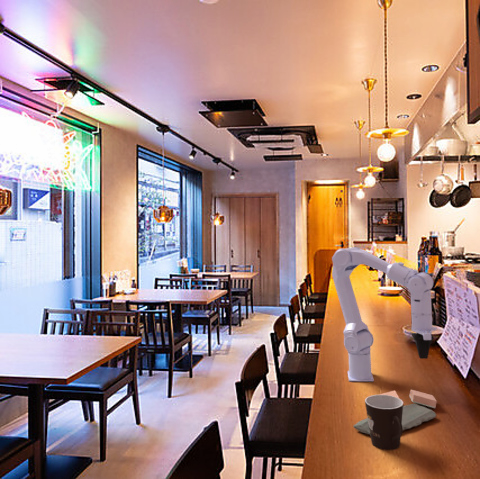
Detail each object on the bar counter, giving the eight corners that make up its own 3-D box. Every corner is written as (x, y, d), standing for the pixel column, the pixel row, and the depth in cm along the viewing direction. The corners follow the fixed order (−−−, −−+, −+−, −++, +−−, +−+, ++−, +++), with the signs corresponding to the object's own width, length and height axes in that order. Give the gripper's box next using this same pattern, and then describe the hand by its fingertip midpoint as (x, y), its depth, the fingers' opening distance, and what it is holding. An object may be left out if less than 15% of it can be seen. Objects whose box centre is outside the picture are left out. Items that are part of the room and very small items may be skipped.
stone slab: (439, 422, 116) (407, 406, 124) (440, 412, 116) (407, 397, 124) (380, 447, 104) (349, 427, 113) (381, 436, 104) (349, 417, 113)
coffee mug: (366, 433, 110) (365, 393, 110) (403, 436, 107) (402, 395, 107) (366, 457, 99) (364, 412, 99) (407, 461, 96) (405, 415, 96)
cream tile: (374, 395, 129) (377, 403, 123) (394, 390, 128) (399, 398, 122) (376, 402, 129) (380, 410, 123) (397, 397, 128) (401, 405, 122)
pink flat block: (410, 389, 128) (413, 394, 122) (432, 395, 127) (436, 401, 121) (409, 396, 128) (412, 401, 122) (431, 402, 127) (435, 408, 121)
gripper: (441, 318, 126) (443, 365, 127) (429, 308, 140) (431, 351, 141) (415, 318, 128) (417, 365, 128) (406, 309, 142) (408, 351, 142)
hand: (423, 357), depth 134 cm, fingers closed
